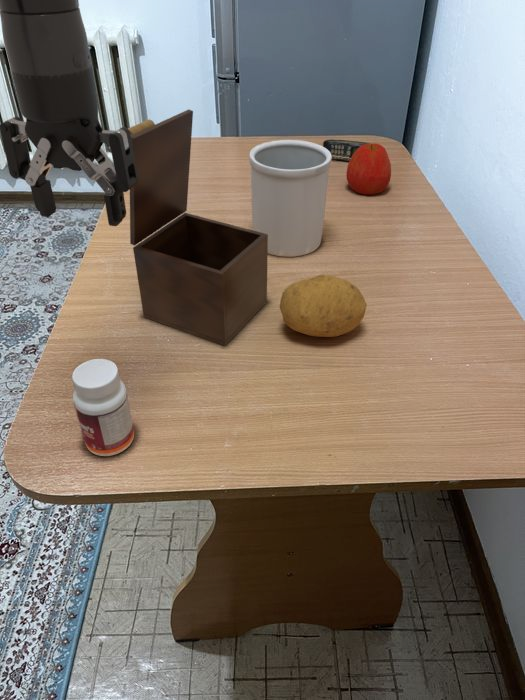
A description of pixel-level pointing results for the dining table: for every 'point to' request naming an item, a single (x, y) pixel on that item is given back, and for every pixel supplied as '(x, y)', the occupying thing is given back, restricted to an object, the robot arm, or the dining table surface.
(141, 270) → the chest
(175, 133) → the lid
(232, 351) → the dining table surface
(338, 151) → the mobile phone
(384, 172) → the apple
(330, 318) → the potato
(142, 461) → the dining table surface
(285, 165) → the utensil holder
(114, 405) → the pill bottle
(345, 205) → the dining table surface
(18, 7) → the robot arm
